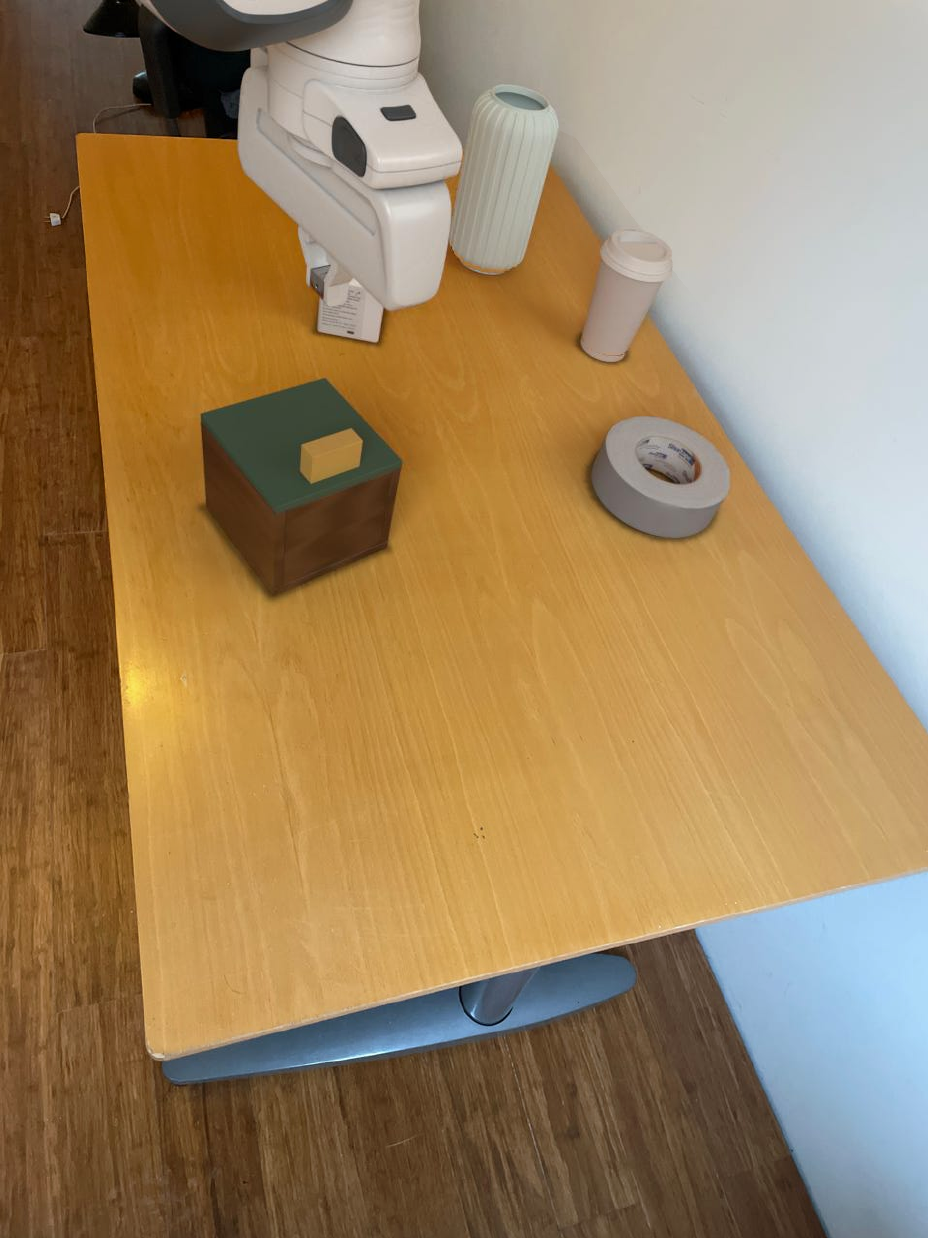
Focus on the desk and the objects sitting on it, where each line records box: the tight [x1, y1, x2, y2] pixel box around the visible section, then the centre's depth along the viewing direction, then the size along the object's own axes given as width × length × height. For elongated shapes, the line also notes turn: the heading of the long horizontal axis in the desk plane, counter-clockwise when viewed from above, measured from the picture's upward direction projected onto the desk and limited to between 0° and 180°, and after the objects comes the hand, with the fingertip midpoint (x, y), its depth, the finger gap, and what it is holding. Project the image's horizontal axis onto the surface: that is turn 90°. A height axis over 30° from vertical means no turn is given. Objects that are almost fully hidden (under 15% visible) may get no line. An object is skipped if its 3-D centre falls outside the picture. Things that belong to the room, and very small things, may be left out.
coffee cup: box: [580, 227, 673, 363], centre depth 108 cm, size 10×10×15 cm
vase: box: [448, 83, 560, 276], centre depth 113 cm, size 12×12×22 cm
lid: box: [199, 377, 404, 514], centre depth 72 cm, size 13×13×4 cm
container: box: [317, 278, 385, 344], centre depth 100 cm, size 8×8×13 cm
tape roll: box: [590, 415, 731, 539], centre depth 95 cm, size 15×15×5 cm
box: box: [200, 420, 402, 597], centre depth 78 cm, size 13×13×11 cm
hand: (326, 295), depth 60 cm, fingers closed
